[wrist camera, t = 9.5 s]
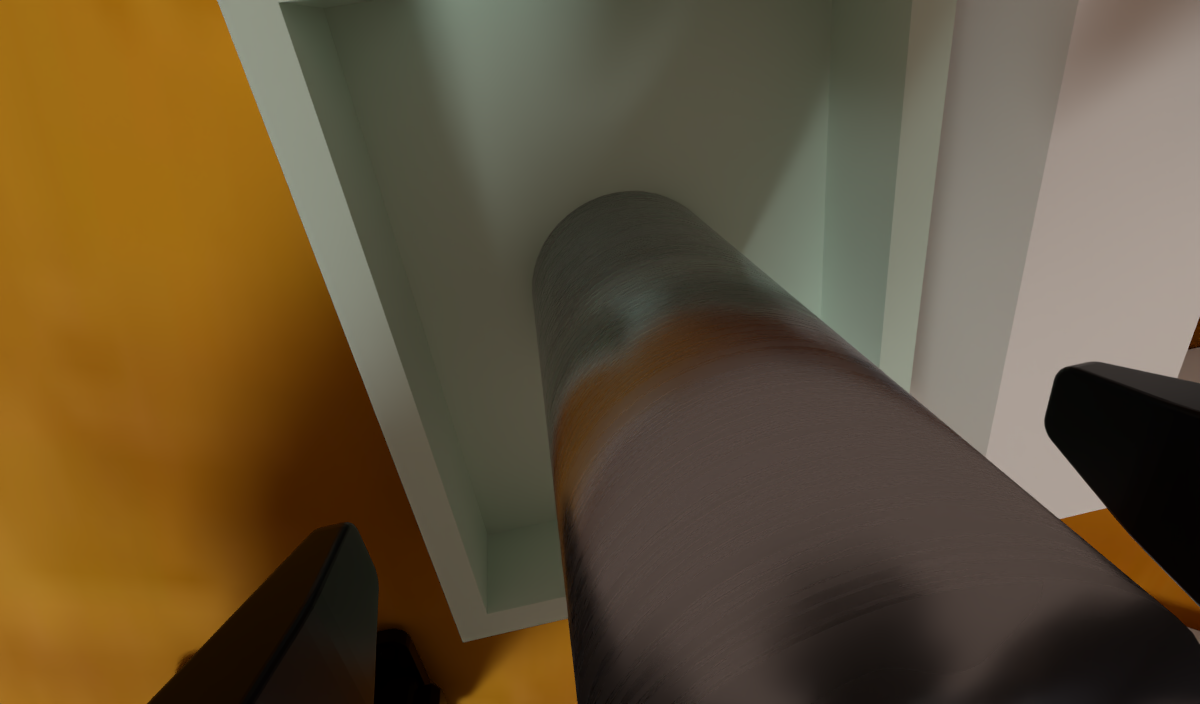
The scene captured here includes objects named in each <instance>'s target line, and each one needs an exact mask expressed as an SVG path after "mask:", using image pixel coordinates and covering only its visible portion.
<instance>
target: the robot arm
mask: <svg viewBox="0 0 1200 704" xmlns="http://www.w3.org/2000/svg"><path fill="white" fill-rule="evenodd" d="M1044 426H1045V430H1046V433H1047V435H1048V437H1049V438H1050V440H1051V441H1052V442H1053V443H1054V445H1055V446H1056V447H1057V448H1058V449H1059V451H1060V452H1061V453H1062V454H1063V455H1064V457H1065V458H1066V459H1067V460H1068V462H1069V463H1070V464H1071V465H1072V466H1073V468H1074V469H1075V470H1076V471H1077V472H1078V474H1079V475H1080V476H1081V477H1082V478H1083V480H1084V481H1085V482H1086V483H1087V485H1088V486H1089V487H1090V488H1091V489H1092V491H1093V492H1094V493H1095V494H1096V495H1097V497H1098V498H1099V499H1100V500H1101V501H1102V503H1103V504H1104V505H1105V506H1106V508H1107V509H1108V510H1109V511H1110V512H1111V514H1112V515H1113V516H1114V517H1115V518H1116V520H1117V521H1118V522H1119V523H1120V524H1121V525H1122V527H1123V528H1124V529H1125V530H1126V531H1127V532H1128V534H1129V535H1130V536H1131V537H1132V538H1133V539H1134V540H1135V541H1136V542H1137V543H1138V544H1139V545H1140V546H1141V547H1142V549H1143V550H1144V551H1145V552H1146V553H1147V554H1148V555H1149V556H1150V557H1151V558H1152V559H1153V560H1154V561H1155V562H1156V563H1157V564H1158V565H1159V566H1160V567H1161V568H1162V569H1163V570H1164V571H1165V572H1166V573H1167V574H1168V575H1169V576H1170V577H1171V578H1172V579H1173V580H1174V581H1175V582H1176V583H1177V584H1178V585H1179V586H1180V587H1181V588H1182V589H1183V590H1184V591H1185V592H1186V593H1187V594H1188V595H1189V596H1190V597H1191V598H1192V599H1193V600H1194V602H1195V603H1196V604H1197V605H1198V606H1199V607H1200V383H1197V382H1192V381H1188V380H1183V379H1178V378H1174V377H1169V376H1164V375H1159V374H1155V373H1150V372H1145V371H1141V370H1136V369H1131V368H1127V367H1122V366H1117V365H1113V364H1108V363H1103V362H1097V361H1091V362H1085V363H1080V364H1076V365H1071V366H1067V367H1064V368H1062V369H1060V370H1059V372H1058V373H1057V374H1056V375H1055V378H1054V381H1053V385H1052V389H1051V393H1050V397H1049V401H1048V405H1047V409H1046V413H1045V418H1044ZM378 591H379V586H378V577H377V573H376V569H375V567H374V565H373V562H372V560H371V558H370V556H369V554H368V551H367V549H366V547H365V545H364V542H363V540H362V538H361V536H360V533H359V531H358V529H357V528H356V527H355V526H354V524H352V523H349V522H344V523H339V524H334V525H330V526H325V527H321V528H318V529H316V530H314V531H313V532H312V533H311V534H310V535H309V536H308V537H307V538H306V539H305V540H304V541H303V542H302V543H301V544H300V545H299V546H298V547H297V548H296V549H295V550H294V551H293V553H292V554H291V555H290V556H289V557H288V558H287V559H286V560H285V561H284V562H283V563H282V564H281V565H280V566H279V567H278V568H277V569H276V570H275V571H274V572H273V573H272V574H271V575H270V576H269V577H268V578H267V580H266V581H265V582H264V583H263V584H262V585H261V586H260V587H259V588H258V589H257V590H256V591H255V592H254V593H253V594H252V595H251V596H250V597H249V598H248V599H247V600H246V601H245V602H244V603H243V604H242V606H241V607H240V608H239V609H238V610H237V611H236V612H235V613H234V614H233V615H232V616H231V617H230V618H229V619H228V620H227V621H226V622H225V623H224V624H223V625H222V626H221V627H220V628H219V629H218V630H217V632H216V633H215V634H214V635H213V636H212V637H211V638H210V639H209V640H208V641H207V642H206V643H205V644H204V645H203V646H202V647H201V648H200V649H199V650H198V651H197V652H196V653H195V654H194V655H193V656H192V658H191V659H190V660H189V661H188V662H187V663H186V664H185V665H184V666H183V667H182V668H181V669H180V670H179V671H178V672H177V673H176V674H175V675H174V676H173V677H172V678H171V679H170V680H169V681H168V682H167V684H166V685H165V686H164V687H163V688H162V689H161V690H160V691H159V692H158V693H157V694H156V695H155V696H154V697H153V698H152V699H151V700H150V701H149V702H148V703H147V704H448V703H447V701H446V698H445V696H444V694H443V691H442V689H441V688H440V687H439V686H437V685H436V684H435V683H434V682H433V683H431V682H430V680H429V677H428V675H427V673H426V671H425V668H424V666H423V664H422V662H421V659H420V657H419V655H418V653H417V650H416V648H415V646H414V644H413V641H412V639H411V637H410V636H409V634H408V633H406V632H404V631H402V630H398V629H388V630H383V631H379V632H377V615H378Z"/></svg>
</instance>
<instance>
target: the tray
mask: <svg viewBox="0 0 1200 704" xmlns="http://www.w3.org/2000/svg"><path fill="white" fill-rule="evenodd" d="M217 1H218V3H219V6H220V9H221V11H222V14H223V16H224V19H225V22H226V24H227V27H228V29H229V32H230V35H231V37H232V40H233V43H234V45H235V48H236V50H237V53H238V56H239V58H240V61H241V63H242V66H243V69H244V71H245V74H246V77H247V79H248V82H249V84H250V87H251V90H252V92H253V95H254V98H255V100H256V103H257V105H258V108H259V111H260V113H261V116H262V118H263V121H264V124H265V126H266V129H267V132H268V134H269V137H270V139H271V142H272V145H273V147H274V150H275V152H276V155H277V158H278V160H279V163H280V166H281V168H282V171H283V173H284V176H285V179H286V181H287V184H288V186H289V189H290V192H291V194H292V197H293V200H294V202H295V205H296V207H297V210H298V213H299V215H300V218H301V220H302V223H303V226H304V228H305V231H306V234H307V236H308V239H309V241H310V244H311V247H312V249H313V252H314V254H315V257H316V260H317V262H318V265H319V268H320V270H321V273H322V275H323V278H324V281H325V283H326V286H327V288H328V291H329V294H330V296H331V299H332V302H333V304H334V307H335V309H336V312H337V315H338V317H339V320H340V322H341V325H342V328H343V330H344V333H345V336H346V338H347V341H348V343H349V346H350V349H351V351H352V354H353V356H354V359H355V362H356V364H357V367H358V370H359V372H360V375H361V377H362V380H363V383H364V385H365V388H366V390H367V393H368V396H369V398H370V401H371V404H372V406H373V409H374V411H375V414H376V417H377V419H378V422H379V424H380V427H381V430H382V432H383V435H384V438H385V440H386V443H387V445H388V448H389V451H390V453H391V456H392V458H393V461H394V464H395V466H396V469H397V472H398V474H399V477H400V479H401V482H402V485H403V487H404V490H405V492H406V495H407V498H408V500H409V503H410V506H411V508H412V511H413V513H414V516H415V519H416V521H417V524H418V526H419V529H420V532H421V534H422V537H423V540H424V542H425V545H426V547H427V550H428V553H429V555H430V558H431V560H432V563H433V566H434V568H435V571H436V574H437V576H438V579H439V581H440V584H441V587H442V589H443V592H444V595H445V597H446V600H447V602H448V605H449V608H450V610H451V613H452V615H453V618H454V621H455V623H456V626H457V629H458V631H459V634H460V636H461V639H462V642H463V643H464V642H468V641H472V640H476V639H481V638H485V637H489V636H494V635H498V634H502V633H507V632H511V631H515V630H520V629H524V628H528V627H533V626H537V625H541V624H546V623H550V622H554V621H558V620H563V619H567V618H568V612H567V603H566V594H565V585H564V576H563V567H562V558H561V549H560V540H559V531H558V522H557V513H556V504H555V495H554V486H553V477H552V468H551V459H550V450H549V441H548V432H547V424H546V415H545V406H544V397H543V388H542V379H541V370H540V361H539V352H538V343H537V334H536V325H535V316H534V307H533V298H532V279H533V272H534V268H535V264H536V261H537V257H538V255H539V253H540V250H541V248H542V246H543V244H544V243H545V241H546V239H547V238H548V236H549V234H550V233H551V232H552V231H553V230H554V228H555V227H556V226H557V225H558V224H559V223H560V222H561V221H562V220H563V219H564V218H565V217H566V216H567V215H568V214H570V213H571V212H572V211H574V210H575V209H576V208H578V207H579V206H581V205H583V204H585V203H587V202H588V201H590V200H593V199H595V198H598V197H601V196H603V195H607V194H612V193H616V192H625V191H643V192H649V193H655V194H659V195H662V196H665V197H668V198H670V199H672V200H674V201H676V202H678V203H680V204H682V205H683V206H685V207H686V208H688V209H689V210H690V211H691V212H693V213H694V214H695V215H696V216H697V217H699V218H700V219H701V220H702V221H703V222H705V223H706V224H707V225H708V226H709V227H711V228H712V229H713V230H714V231H715V232H717V233H718V234H719V235H720V236H721V237H723V238H724V239H725V240H726V241H727V242H729V243H730V244H731V245H732V246H733V247H735V248H736V249H737V250H738V251H739V252H741V253H742V254H743V255H744V256H745V257H746V258H748V259H749V260H750V261H751V262H752V263H754V264H755V265H756V266H757V267H758V268H760V269H761V270H762V271H763V272H764V273H766V274H767V275H768V276H769V277H770V278H772V279H773V280H774V281H775V282H776V283H778V284H779V285H780V286H781V287H782V288H784V289H785V290H786V291H787V292H788V293H790V294H791V295H792V296H793V297H794V298H796V299H797V300H798V301H799V302H800V303H802V304H803V305H804V306H805V307H806V308H807V309H809V310H810V311H811V312H812V313H813V314H815V315H816V316H817V317H818V318H819V319H821V320H822V321H823V322H824V323H825V324H827V325H828V326H829V327H830V328H831V329H833V330H834V331H835V332H836V333H837V334H839V335H840V336H841V337H842V338H843V339H845V340H846V341H847V342H848V343H849V344H851V345H852V346H853V347H854V348H855V349H857V350H858V351H859V352H860V353H861V354H862V355H864V356H865V357H866V358H867V359H868V360H870V361H871V362H872V363H873V364H874V365H876V366H877V367H878V368H879V369H880V370H882V371H883V372H884V373H885V374H886V375H888V376H889V377H890V378H891V379H892V380H894V381H895V382H896V383H897V384H898V385H900V386H901V387H902V388H903V389H904V390H906V391H907V392H908V393H910V385H911V376H912V368H913V360H914V352H915V343H916V335H917V327H918V318H919V310H920V302H921V294H922V285H923V277H924V269H925V260H926V252H927V244H928V236H929V227H930V219H931V211H932V202H933V194H934V186H935V177H936V169H937V161H938V153H939V144H940V136H941V128H942V119H943V111H944V103H945V95H946V86H947V78H948V70H949V61H950V53H951V45H952V37H953V28H954V20H955V12H956V3H957V0H217Z"/></svg>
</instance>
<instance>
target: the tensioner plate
mask: <svg viewBox="0 0 1200 704" xmlns="http://www.w3.org/2000/svg"><path fill="white" fill-rule="evenodd" d="M1199 317H1200V0H957V3H956V12H955V20H954V28H953V37H952V45H951V53H950V61H949V70H948V78H947V86H946V95H945V103H944V111H943V119H942V128H941V136H940V144H939V153H938V161H937V169H936V177H935V186H934V194H933V202H932V211H931V219H930V227H929V236H928V244H927V252H926V260H925V269H924V277H923V285H922V294H921V302H920V310H919V318H918V327H917V335H916V343H915V352H914V360H913V368H912V376H911V385H910V393H909V394H910V395H912V396H913V397H914V398H915V399H916V400H917V401H919V402H920V403H921V404H922V405H923V406H925V407H926V408H927V409H928V410H929V411H931V412H932V413H933V414H934V415H935V416H937V417H938V418H939V419H940V420H941V421H943V422H944V423H945V424H946V425H947V426H949V427H950V428H951V429H952V430H953V431H955V432H956V433H957V434H958V435H959V436H961V437H962V438H963V439H964V440H965V441H967V442H968V443H969V444H970V445H971V446H973V447H974V448H975V449H976V450H977V451H978V452H980V453H981V454H982V455H983V456H984V457H986V458H987V459H988V460H989V461H990V462H992V463H993V464H994V465H995V466H996V467H998V468H999V469H1000V470H1001V471H1002V472H1004V473H1005V474H1006V475H1007V476H1008V477H1010V478H1011V479H1012V480H1013V481H1014V482H1016V483H1017V484H1018V485H1019V486H1020V487H1022V488H1023V489H1024V490H1025V491H1026V492H1028V493H1029V494H1030V495H1031V496H1032V497H1033V498H1035V499H1036V500H1037V501H1038V502H1039V503H1041V504H1042V505H1043V506H1044V507H1045V508H1047V509H1048V510H1049V511H1050V512H1051V513H1053V514H1054V515H1055V516H1056V517H1057V518H1059V519H1061V518H1065V517H1070V516H1074V515H1078V514H1082V513H1087V512H1091V511H1095V510H1100V509H1104V508H1106V506H1105V505H1104V504H1103V503H1102V501H1101V500H1100V499H1099V498H1098V497H1097V495H1096V494H1095V493H1094V492H1093V491H1092V489H1091V488H1090V487H1089V486H1088V485H1087V483H1086V482H1085V481H1084V480H1083V478H1082V477H1081V476H1080V475H1079V474H1078V472H1077V471H1076V470H1075V469H1074V468H1073V466H1072V465H1071V464H1070V463H1069V462H1068V460H1067V459H1066V458H1065V457H1064V455H1063V454H1062V453H1061V452H1060V451H1059V449H1058V448H1057V447H1056V446H1055V445H1054V443H1053V442H1052V441H1051V440H1050V438H1049V437H1048V435H1047V433H1046V430H1045V426H1044V418H1045V413H1046V409H1047V405H1048V401H1049V397H1050V393H1051V389H1052V385H1053V381H1054V378H1055V375H1056V374H1057V373H1058V372H1059V370H1060V369H1062V368H1064V367H1067V366H1071V365H1076V364H1080V363H1085V362H1091V361H1097V362H1103V363H1108V364H1113V365H1117V366H1122V367H1127V368H1131V369H1136V370H1141V371H1145V372H1150V373H1155V374H1159V375H1164V376H1169V377H1174V378H1178V379H1183V380H1188V381H1192V382H1197V383H1200V347H1198V348H1194V349H1189V350H1188V347H1189V345H1190V342H1191V339H1192V336H1193V334H1194V331H1195V328H1196V325H1197V323H1198V320H1199Z"/></svg>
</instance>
